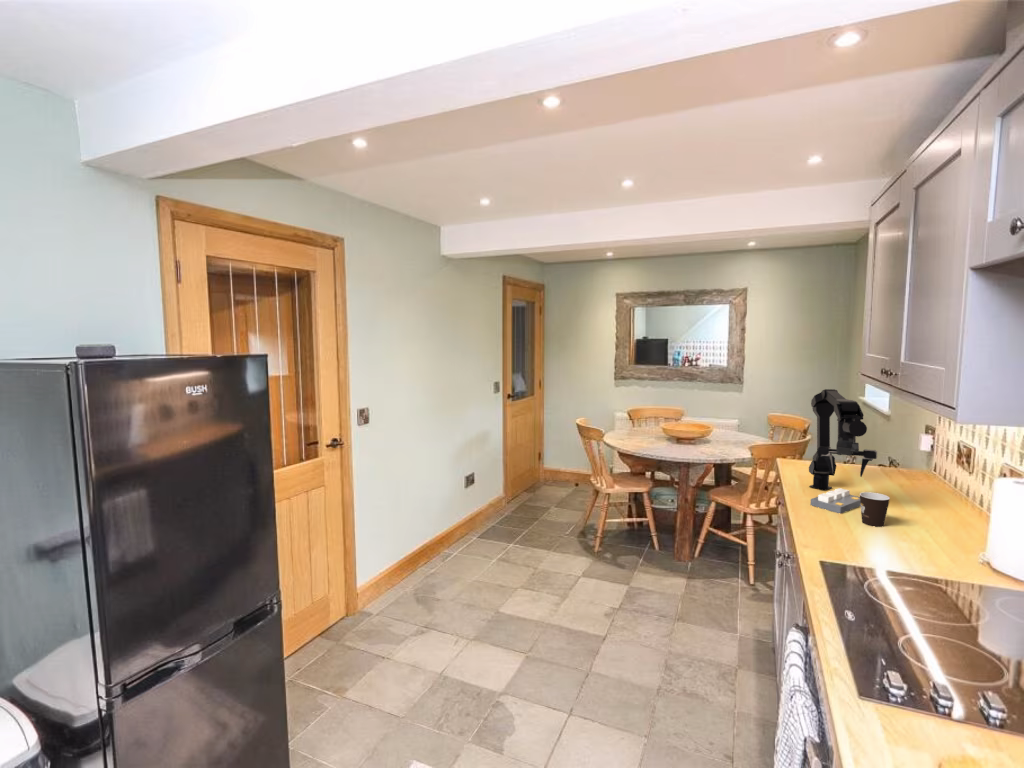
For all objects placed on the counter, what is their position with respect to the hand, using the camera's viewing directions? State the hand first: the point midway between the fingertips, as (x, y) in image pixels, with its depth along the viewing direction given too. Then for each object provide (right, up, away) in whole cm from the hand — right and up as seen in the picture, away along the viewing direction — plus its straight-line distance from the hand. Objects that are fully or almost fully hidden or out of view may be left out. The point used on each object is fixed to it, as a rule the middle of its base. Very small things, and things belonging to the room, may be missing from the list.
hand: (846, 475), depth 193 cm
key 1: (-5, -12, +4) cm, 13 cm away
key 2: (+5, -11, +10) cm, 15 cm away
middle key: (0, -11, +7) cm, 13 cm away
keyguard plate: (0, -13, +6) cm, 14 cm away
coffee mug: (+2, -15, -12) cm, 19 cm away
